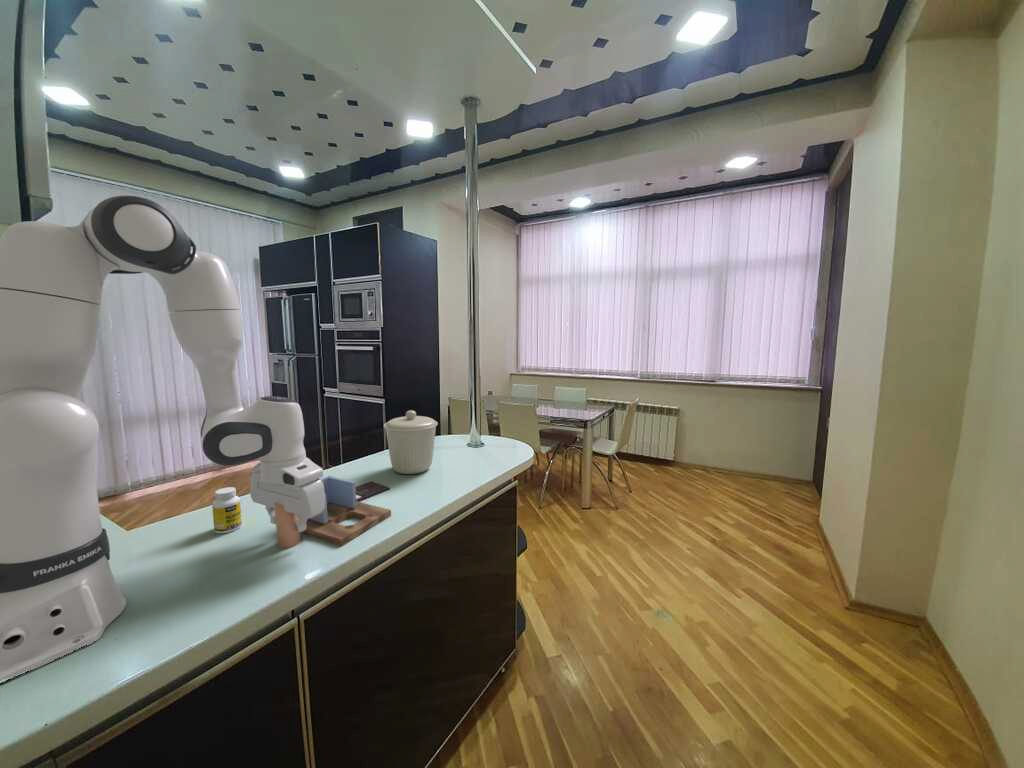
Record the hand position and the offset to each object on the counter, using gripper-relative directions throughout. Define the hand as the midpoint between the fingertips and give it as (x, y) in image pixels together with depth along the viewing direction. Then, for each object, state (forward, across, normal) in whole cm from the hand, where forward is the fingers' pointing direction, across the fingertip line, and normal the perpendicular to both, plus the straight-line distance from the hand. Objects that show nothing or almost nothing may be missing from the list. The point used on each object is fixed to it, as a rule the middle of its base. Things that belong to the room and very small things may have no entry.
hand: (288, 526), depth 87 cm
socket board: (+4, +2, +12) cm, 13 cm away
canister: (+4, -5, +50) cm, 50 cm away
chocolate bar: (+4, -6, +25) cm, 26 cm away
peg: (+4, 0, 0) cm, 4 cm away
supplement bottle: (+4, -19, -2) cm, 19 cm away
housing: (+2, -2, +12) cm, 12 cm away
